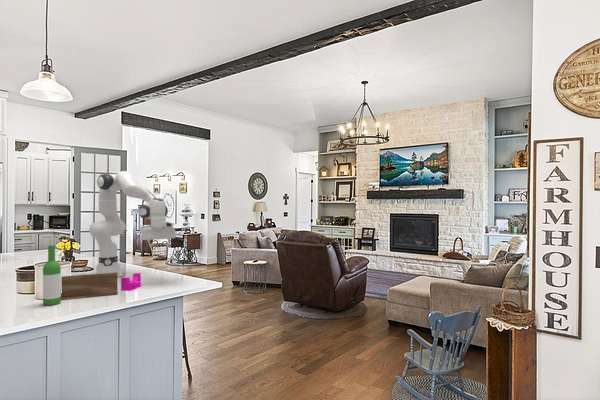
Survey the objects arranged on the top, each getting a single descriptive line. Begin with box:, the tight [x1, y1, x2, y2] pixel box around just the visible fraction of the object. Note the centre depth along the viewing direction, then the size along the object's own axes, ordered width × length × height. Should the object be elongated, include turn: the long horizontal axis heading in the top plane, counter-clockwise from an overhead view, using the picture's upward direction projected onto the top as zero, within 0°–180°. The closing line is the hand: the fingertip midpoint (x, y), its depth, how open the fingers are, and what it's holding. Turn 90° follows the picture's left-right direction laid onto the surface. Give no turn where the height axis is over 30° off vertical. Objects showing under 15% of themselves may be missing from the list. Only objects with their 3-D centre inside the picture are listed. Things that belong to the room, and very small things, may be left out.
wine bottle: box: [42, 244, 62, 306], centre depth 194 cm, size 8×8×30 cm
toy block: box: [120, 272, 142, 292], centre depth 229 cm, size 15×6×8 cm, turn 173°
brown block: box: [61, 272, 119, 301], centre depth 212 cm, size 13×28×12 cm, turn 114°
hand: (159, 246), depth 235 cm, fingers open, 8 cm apart
